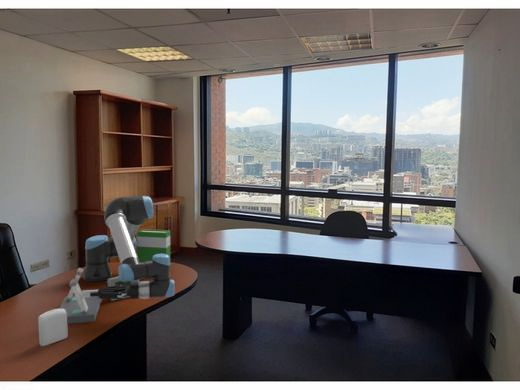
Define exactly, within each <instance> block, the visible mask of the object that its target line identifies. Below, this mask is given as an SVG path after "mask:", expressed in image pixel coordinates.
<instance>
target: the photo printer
mask: <svg viewBox="0 0 520 390" xmlns="http://www.w3.org/2000/svg"><path fill="white" fill-rule="evenodd" d="M37 323H38V337H39V341H38V342H39V345H40V346H41V347H46V346H48V345H51V344H54V343H56V342H60V341H62V340H65V339H67V338H68V336H69V335H68V330H69V329H68V323H67V313H66V310H65V309H59V308H54V309H50V310H48V311H46V312H45V311H44V312H43V313H42V314H40V315H38V317H37Z"/></svg>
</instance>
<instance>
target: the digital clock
mask: <svg viewBox="0 0 520 390" xmlns="http://www.w3.org/2000/svg"><path fill="white" fill-rule="evenodd" d="M106 282H107V287H108V286H116V285H121V284H124V286H130V283H131V282H139V283H140V279H139V280H134V281H127V282H122V281H121V280H120V279H119V275H118V276H115V277H111V278H109V279H107V280H106ZM127 298H130V296H126V297H122V299H110V301H111V302H114V301H119V300H124V299H127Z"/></svg>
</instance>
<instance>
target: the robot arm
mask: <svg viewBox="0 0 520 390" xmlns="http://www.w3.org/2000/svg"><path fill="white" fill-rule="evenodd" d="M154 211H155V210H154V204H153V200H152V198H151V197H150V196H147V195H138V196H120V197H116V198H115V199H112V200H111V201H110V202H109V203H108V204H107V207H106V208H105V210H104V217H103V218H104V222H105V225H106V227H108V228H109V231H110V235H111V237H108V235H105V234H102V235H99V234H98V235H95V236H94V235H93V236H91V237H89V238H86V241H85V244H84V245H85V247H84V250H85V267H84V271H83V273H82V280H84V281H85V282H92V283H93V282H94V283H96V282H102V281H107V280H108V279H109V278H113V277H112V275H113V274H112V271H111V266H110V264H109V259H112V258H118V259H119V262H120V265H119V266H117V267H118V268H117V275H118V276H119V279H120V280H121V281H122V282H127V281H134V280H139V282H131V283H130V286H124V284H121V285H116V286H108V285H107V286H103V287H100V288H99V289H98V288H97V289H83V290H81V291H82V298H86V297H99V298H100V299H104V300H105V299H106V300H107V299H120V300H123V299H122V297H126V296H130V297H129V299H130V300H138V299H139V298H140V299H141V300H142V299H144V300H147V299H156V298H157V299H158V298H160V299H161V298H170V297H173V296H175V293H176V291H175V290H176V288H175V286H176V285H175V280H174V279H171V277H170V276H171V257H170V258H169V256H168V255H167V254H156V255H154V256H153V258H152V260H150V261H143V262H139V259H138V253H137V252H136V250H137V248H138V246H137V238H136V236H137V231H138V230H139V229H140V226H141V225H143V224H144V223H145V222H146V221H147V219H149V220H150V219H153V217H154V214H155V212H154ZM150 278H151V279H152V280H146V279H150ZM144 279H145V280H144ZM140 280H143V281H140Z"/></svg>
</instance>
